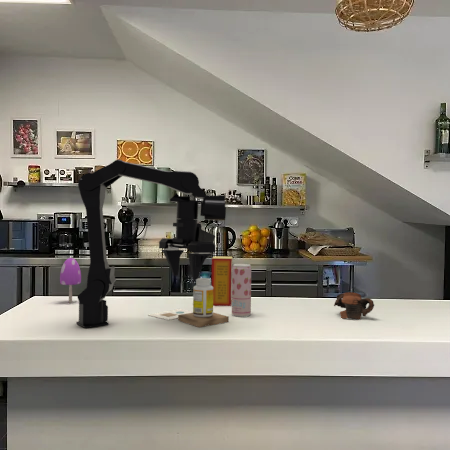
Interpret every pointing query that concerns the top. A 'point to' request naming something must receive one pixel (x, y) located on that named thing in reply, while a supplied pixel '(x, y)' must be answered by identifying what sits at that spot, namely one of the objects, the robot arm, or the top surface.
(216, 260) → the baking soda box
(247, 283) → the beverage can
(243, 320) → the top surface
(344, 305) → the pottery mug
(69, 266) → the toy
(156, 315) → the page
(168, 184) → the robot arm
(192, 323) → the base brick
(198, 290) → the supplement bottle
